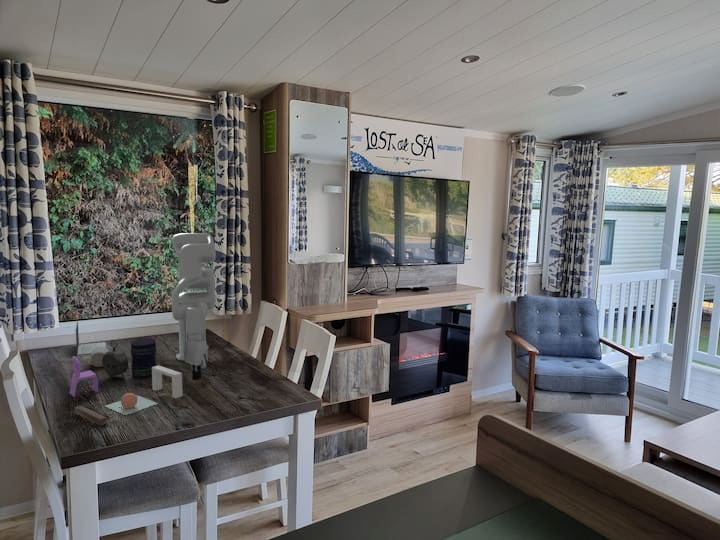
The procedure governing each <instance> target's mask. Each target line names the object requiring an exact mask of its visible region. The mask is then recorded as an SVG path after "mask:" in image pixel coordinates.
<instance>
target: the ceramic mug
mask: <svg viewBox="0 0 720 540" xmlns="http://www.w3.org/2000/svg"><path fill="white" fill-rule="evenodd" d="M108 351H110V350H109V349H108V348H107V346H106V347H102V346H100V347H96V348H95V349H94V350H93V351H92V353H91V354H90V358H89V359H90V363H91V365H92V366H93V367H96V368H103V365H102V358H103V355H104V354H105V353H106V352H108Z"/></svg>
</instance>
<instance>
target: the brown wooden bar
mask: <svg viewBox="0 0 720 540" xmlns="http://www.w3.org/2000/svg"><path fill="white" fill-rule="evenodd" d="M74 414H75V415H76V414H77V415H76V416H78V415H80V416H81V417H80V416H79V417H80V418H82V417H84V418H86V419H88V420H90V421H92V422H94V423H96V424H99V425H104V424H106V425H107V417H106V416H104V415H102V414H100V413H97V412H96V411H93V410H91V409H89V408H86V407H85V406H82V405H79V406H75V407H74ZM84 418H83V419H84ZM86 419H85V420H86ZM88 420H87V421H88ZM90 421H89V422H90ZM92 422H91V423H92ZM94 423H93V424H94ZM96 424H95V425H96ZM104 426H105V425H104Z"/></svg>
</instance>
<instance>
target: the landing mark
mask: <svg viewBox="0 0 720 540" xmlns="http://www.w3.org/2000/svg"><path fill="white" fill-rule="evenodd" d="M135 395H136V394H135ZM136 396H137V399H138V401H137V404H136V405H135V406H134V407H133V408H130V409H127V408H123V406H122V405H121V400H119V401H116V402H113V403H109V404H106V405H104V406H105V408H106V407H107V409H109V410H111V409H112V410H111V411H113V410H114V411H113V412H115V411H116V412H115V413H118V412H119V413H118V414H120V413H121V414H120V415H122V414H123V415H122V416H124V415H126V416H129V415H131V414H135V413H137V412H139V411H143V410H146V409H147V408H150V406H151V407H154V406H156V405H159V403H158V402H155V401H154V400H150V399H148V398H146V397H143V396H140V395H138V394H137V395H136ZM153 405H154V406H153ZM119 407H120V408H119ZM121 407H122V409H121ZM123 409H124V410H123ZM142 409H143V410H142ZM128 414H129V415H128Z"/></svg>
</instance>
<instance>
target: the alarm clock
mask: <svg viewBox="0 0 720 540" xmlns="http://www.w3.org/2000/svg"><path fill="white" fill-rule="evenodd" d="M112 342H114V343H115V346H113V345H112ZM117 346H118V343H117V341H116V340H111V341H110V347H111V348H112V350H109V351H108V352H106V353H105V354H104V355H103V358H102V365H103V366H102V368H103V370H104V371H105V373H106V374H107V375H109V380H112V377H114V378H116V377H119V376H121V377H122V379H123V380H125V379H126V378H125V376H124V374H125V373H126V372H127V371H128V369H129V361H128V358H127V356H126V354H125V352H123V351H122V350H121V349H119V348H117Z"/></svg>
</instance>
